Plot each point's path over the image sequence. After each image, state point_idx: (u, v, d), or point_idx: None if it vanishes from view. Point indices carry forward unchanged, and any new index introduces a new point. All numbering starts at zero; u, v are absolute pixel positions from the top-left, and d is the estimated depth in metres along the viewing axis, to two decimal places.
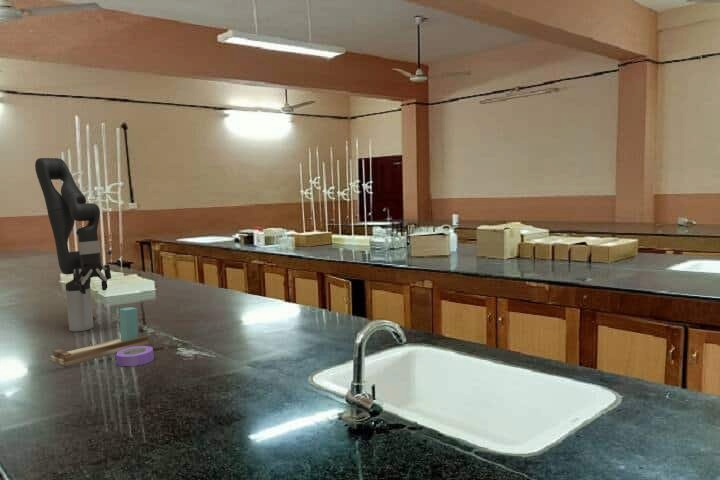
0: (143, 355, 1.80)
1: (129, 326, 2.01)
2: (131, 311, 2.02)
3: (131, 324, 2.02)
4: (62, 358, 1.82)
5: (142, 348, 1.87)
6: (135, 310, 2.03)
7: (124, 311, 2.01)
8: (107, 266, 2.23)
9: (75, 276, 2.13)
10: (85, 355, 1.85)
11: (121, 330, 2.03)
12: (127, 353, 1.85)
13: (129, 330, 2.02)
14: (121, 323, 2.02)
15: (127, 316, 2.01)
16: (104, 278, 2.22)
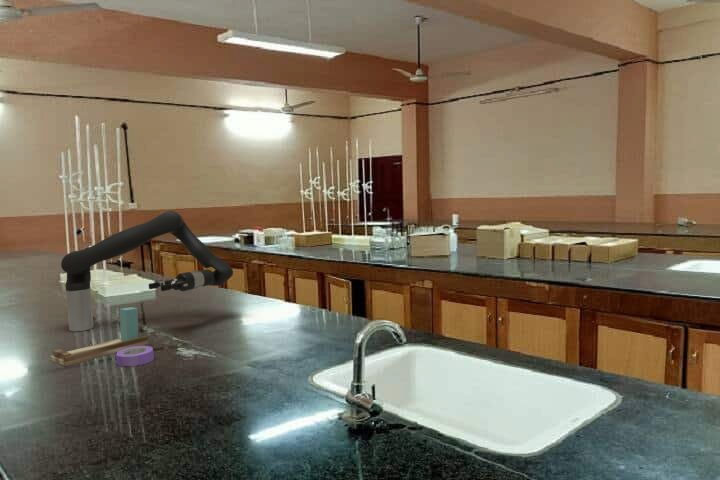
0: (143, 355, 1.80)
1: (129, 326, 2.01)
2: (131, 311, 2.02)
3: (131, 324, 2.02)
4: (62, 358, 1.82)
5: (142, 348, 1.87)
6: (135, 310, 2.03)
7: (124, 311, 2.01)
8: None
9: (182, 287, 2.13)
10: (85, 355, 1.85)
11: (121, 329, 2.03)
12: (127, 353, 1.85)
13: (129, 330, 2.02)
14: (122, 323, 2.02)
15: (127, 316, 2.01)
16: (160, 287, 2.18)
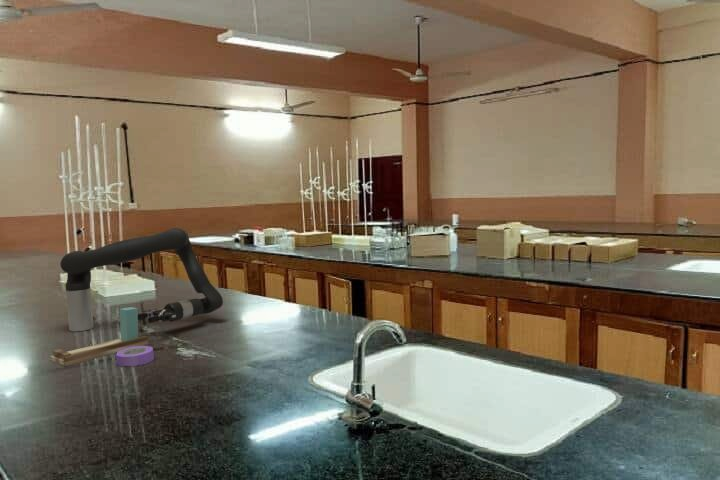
0: (143, 355, 1.80)
1: (129, 326, 2.01)
2: (131, 311, 2.02)
3: (131, 324, 2.02)
4: (62, 358, 1.82)
5: (142, 348, 1.87)
6: (135, 310, 2.03)
7: (124, 311, 2.01)
8: None
9: (170, 318, 2.10)
10: (85, 355, 1.85)
11: (121, 329, 2.03)
12: (127, 353, 1.85)
13: (129, 330, 2.02)
14: (122, 323, 2.02)
15: (127, 316, 2.01)
16: (148, 317, 2.15)
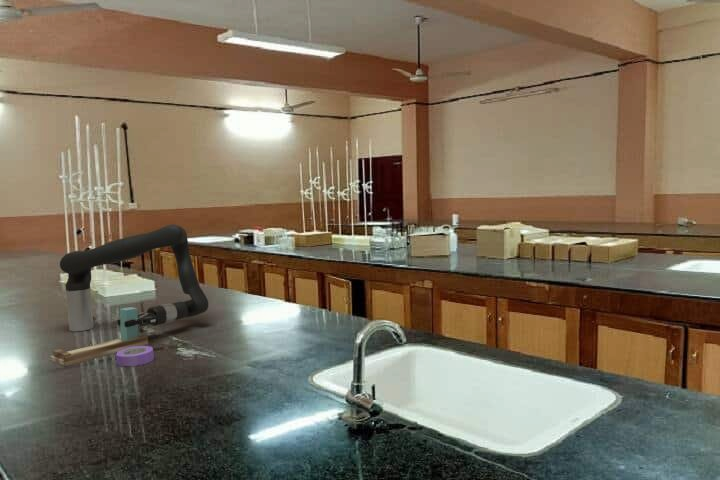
0: (143, 355, 1.80)
1: None
2: (131, 311, 2.02)
3: None
4: (62, 358, 1.82)
5: (142, 348, 1.87)
6: (135, 310, 2.03)
7: (124, 311, 2.01)
8: None
9: (147, 323, 2.03)
10: (85, 355, 1.85)
11: (121, 329, 2.03)
12: (127, 353, 1.85)
13: (129, 330, 2.02)
14: (122, 323, 2.02)
15: (127, 316, 2.01)
16: None
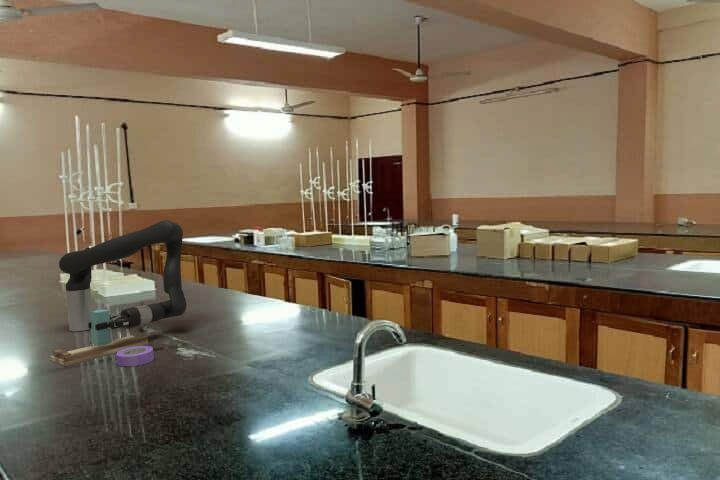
0: (143, 355, 1.80)
1: None
2: (103, 313, 1.93)
3: None
4: (62, 358, 1.82)
5: (142, 348, 1.87)
6: (107, 312, 1.95)
7: (95, 313, 1.92)
8: None
9: (120, 325, 1.95)
10: (85, 355, 1.85)
11: (92, 333, 1.94)
12: (127, 353, 1.85)
13: (101, 333, 1.93)
14: (93, 326, 1.94)
15: (98, 319, 1.92)
16: None
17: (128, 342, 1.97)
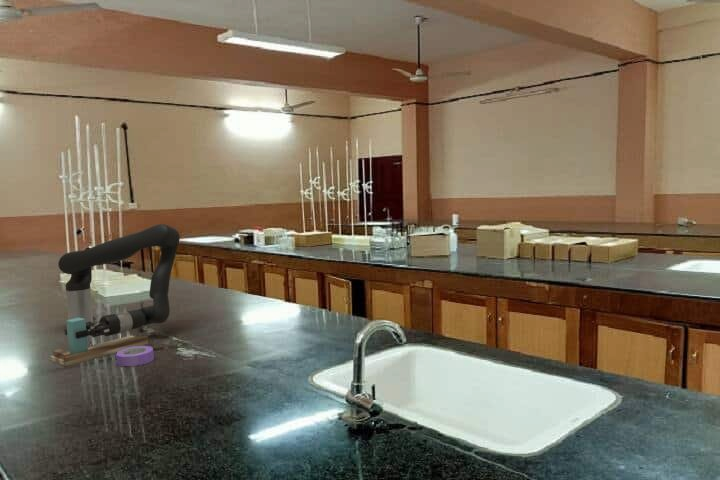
0: (143, 355, 1.80)
1: (76, 339, 1.86)
2: (78, 322, 1.87)
3: None
4: (62, 358, 1.82)
5: (142, 348, 1.87)
6: (83, 321, 1.88)
7: (71, 323, 1.85)
8: None
9: (101, 333, 1.88)
10: (85, 355, 1.85)
11: (69, 342, 1.88)
12: (127, 353, 1.85)
13: (77, 342, 1.86)
14: (69, 336, 1.87)
15: (74, 328, 1.85)
16: None
17: (128, 342, 1.97)
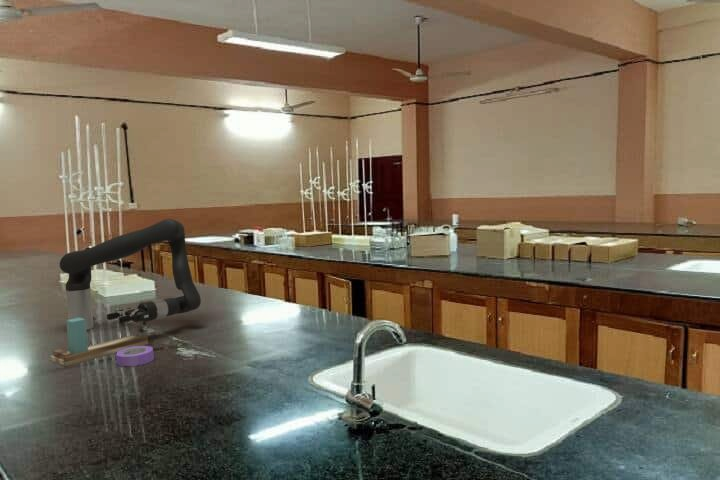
0: (143, 355, 1.80)
1: (76, 339, 1.86)
2: (79, 322, 1.87)
3: (79, 337, 1.87)
4: (62, 358, 1.82)
5: (142, 348, 1.87)
6: (83, 321, 1.88)
7: (71, 323, 1.85)
8: None
9: (142, 318, 2.01)
10: (85, 355, 1.85)
11: (69, 342, 1.88)
12: (127, 353, 1.85)
13: (77, 342, 1.86)
14: (69, 336, 1.87)
15: (74, 328, 1.85)
16: None
17: (128, 342, 1.97)
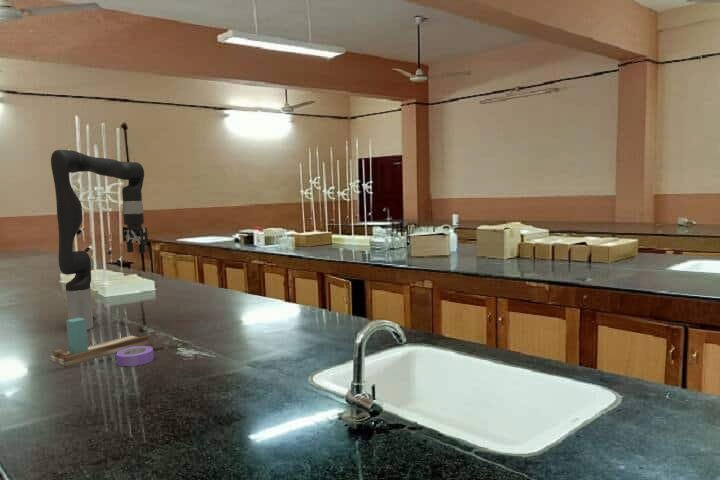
0: (143, 355, 1.80)
1: (76, 339, 1.86)
2: (79, 322, 1.87)
3: (79, 337, 1.87)
4: (62, 358, 1.82)
5: (142, 348, 1.87)
6: (83, 321, 1.88)
7: (71, 323, 1.85)
8: None
9: (145, 234, 2.11)
10: (85, 355, 1.85)
11: (69, 342, 1.88)
12: (127, 353, 1.85)
13: (77, 342, 1.86)
14: (69, 336, 1.87)
15: (74, 328, 1.85)
16: None
17: (128, 342, 1.97)
